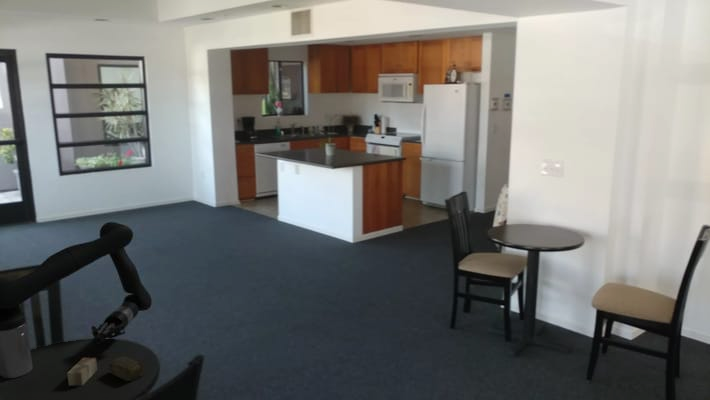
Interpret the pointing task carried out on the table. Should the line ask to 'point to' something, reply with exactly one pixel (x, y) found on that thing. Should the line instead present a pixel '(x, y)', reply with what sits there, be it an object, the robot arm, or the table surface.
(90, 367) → the maple block
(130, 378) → the stone block
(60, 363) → the table surface
